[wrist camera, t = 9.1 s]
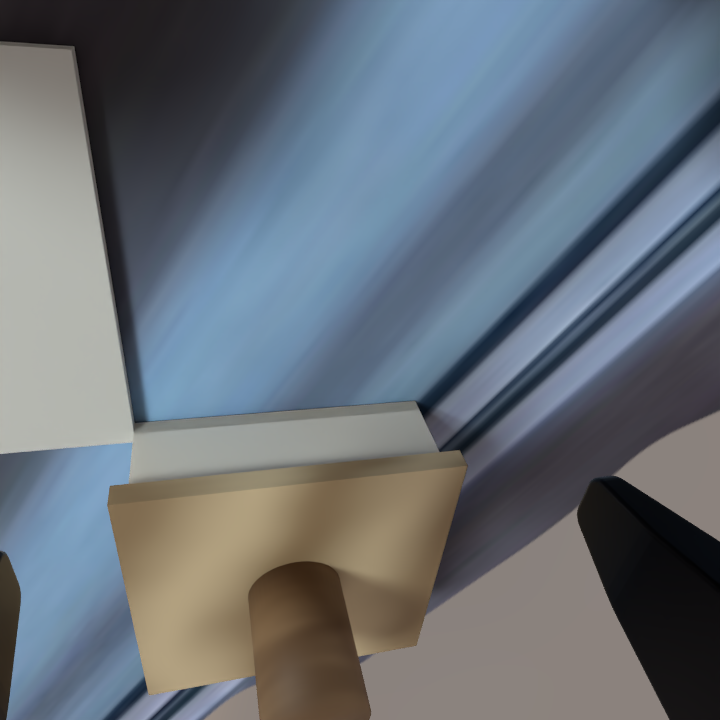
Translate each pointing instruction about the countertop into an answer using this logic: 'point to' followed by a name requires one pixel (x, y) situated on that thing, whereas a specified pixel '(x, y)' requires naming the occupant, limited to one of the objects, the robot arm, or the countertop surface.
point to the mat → (54, 266)
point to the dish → (276, 440)
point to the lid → (284, 575)
